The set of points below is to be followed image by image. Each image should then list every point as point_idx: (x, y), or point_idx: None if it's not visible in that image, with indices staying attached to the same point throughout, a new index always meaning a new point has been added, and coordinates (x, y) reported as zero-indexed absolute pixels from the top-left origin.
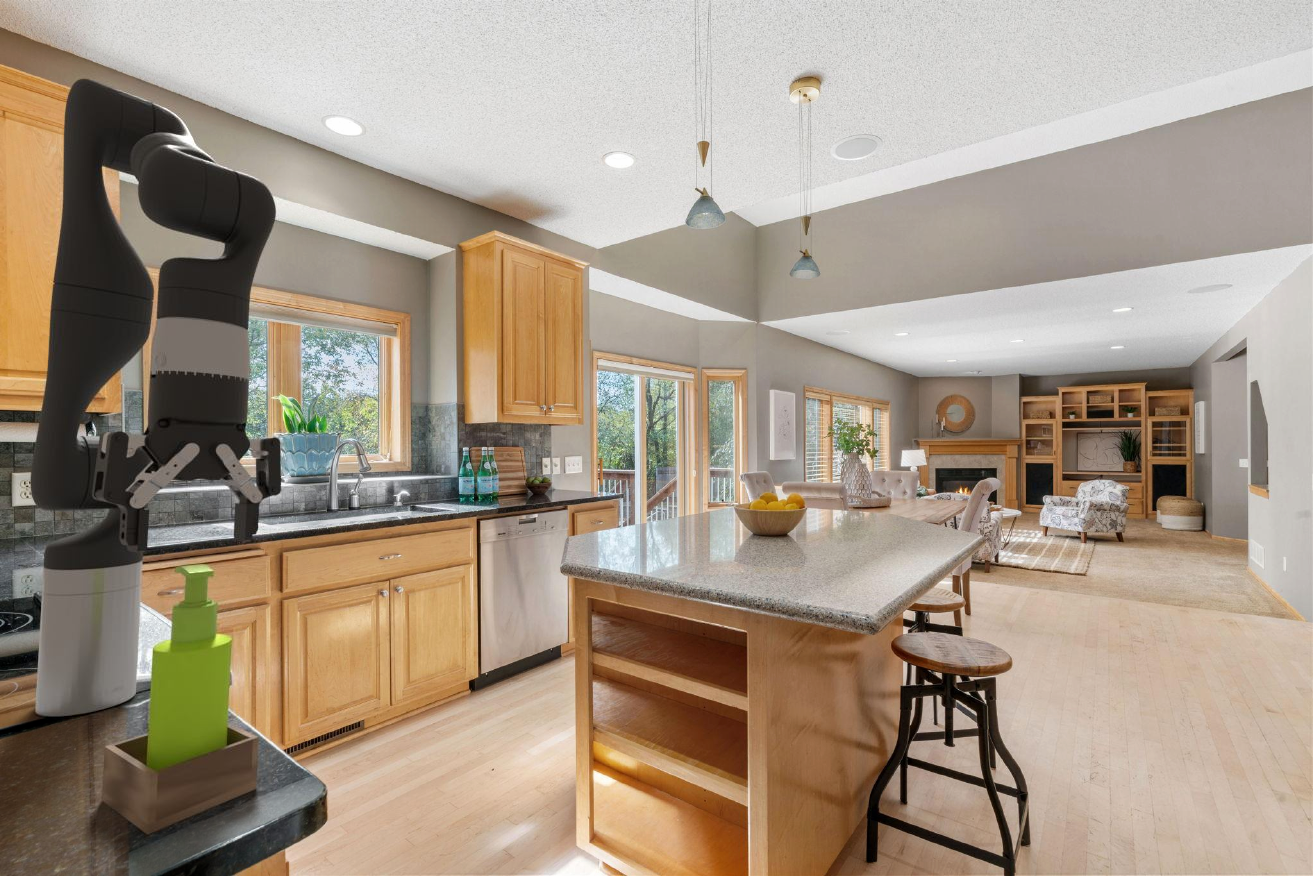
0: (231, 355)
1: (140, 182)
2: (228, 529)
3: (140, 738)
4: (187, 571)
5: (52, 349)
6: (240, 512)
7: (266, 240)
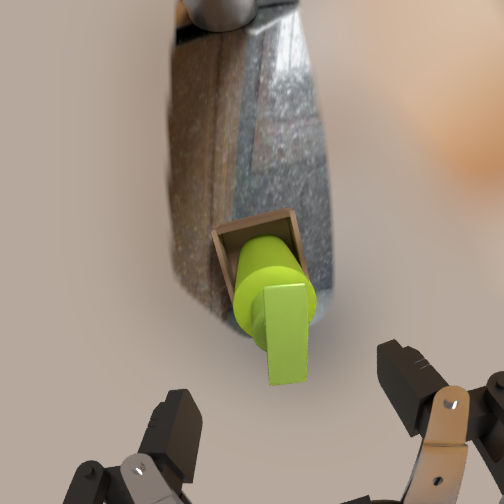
0: None
1: None
2: None
3: (236, 229)
4: (269, 377)
5: None
6: (404, 404)
7: None
